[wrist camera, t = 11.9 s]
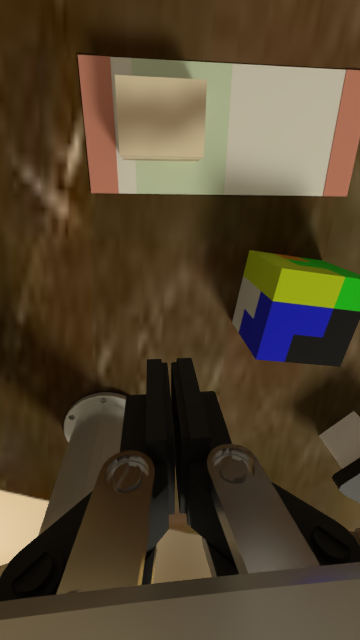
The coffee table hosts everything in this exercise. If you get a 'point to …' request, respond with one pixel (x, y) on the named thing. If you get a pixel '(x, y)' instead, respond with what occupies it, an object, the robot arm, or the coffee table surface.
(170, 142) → the birch block
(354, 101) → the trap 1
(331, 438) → the black-topped pedestal
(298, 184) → the lane
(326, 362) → the puzzle toy
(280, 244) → the coffee table surface
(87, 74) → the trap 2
